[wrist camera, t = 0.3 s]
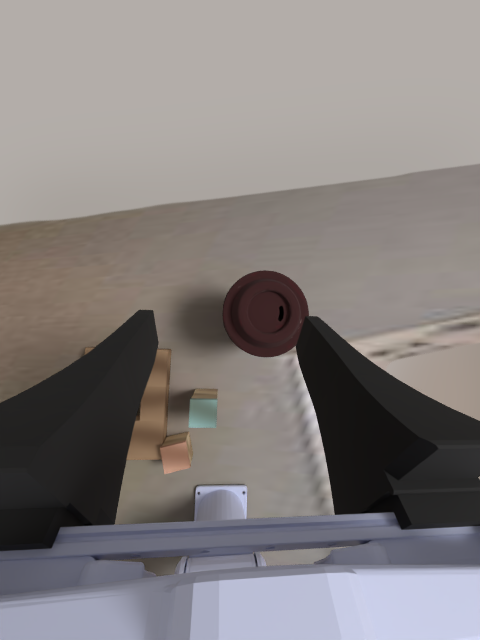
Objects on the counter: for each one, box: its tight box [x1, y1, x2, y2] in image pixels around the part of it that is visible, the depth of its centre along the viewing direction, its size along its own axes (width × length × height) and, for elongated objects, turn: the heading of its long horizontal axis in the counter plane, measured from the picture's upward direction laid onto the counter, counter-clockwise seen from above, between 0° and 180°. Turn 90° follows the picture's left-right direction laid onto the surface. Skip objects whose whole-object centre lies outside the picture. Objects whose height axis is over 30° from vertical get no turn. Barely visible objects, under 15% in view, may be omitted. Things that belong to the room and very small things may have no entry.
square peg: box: [189, 389, 217, 428], centre depth 35 cm, size 4×4×7 cm
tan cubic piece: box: [160, 432, 193, 474], centre depth 36 cm, size 4×4×4 cm
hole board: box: [85, 347, 171, 460], centre depth 37 cm, size 16×12×2 cm
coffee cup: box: [223, 271, 309, 357], centre depth 33 cm, size 10×10×15 cm
